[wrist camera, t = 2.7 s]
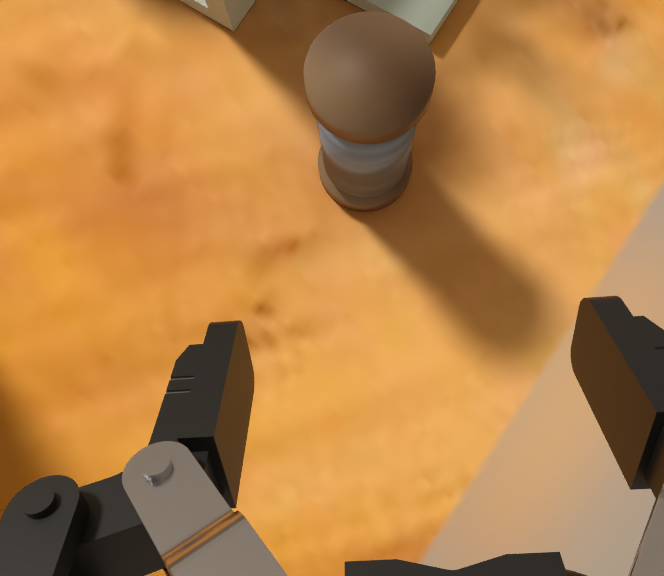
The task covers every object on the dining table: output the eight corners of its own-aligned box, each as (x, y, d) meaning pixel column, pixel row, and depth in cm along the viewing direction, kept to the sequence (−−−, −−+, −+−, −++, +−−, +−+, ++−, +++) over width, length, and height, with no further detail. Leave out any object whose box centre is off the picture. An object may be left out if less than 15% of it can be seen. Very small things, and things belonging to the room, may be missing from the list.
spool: (379, 228, 31) (390, 157, 21) (301, 181, 32) (278, 91, 22) (427, 153, 32) (460, 50, 22) (350, 108, 32) (348, -11, 23)
